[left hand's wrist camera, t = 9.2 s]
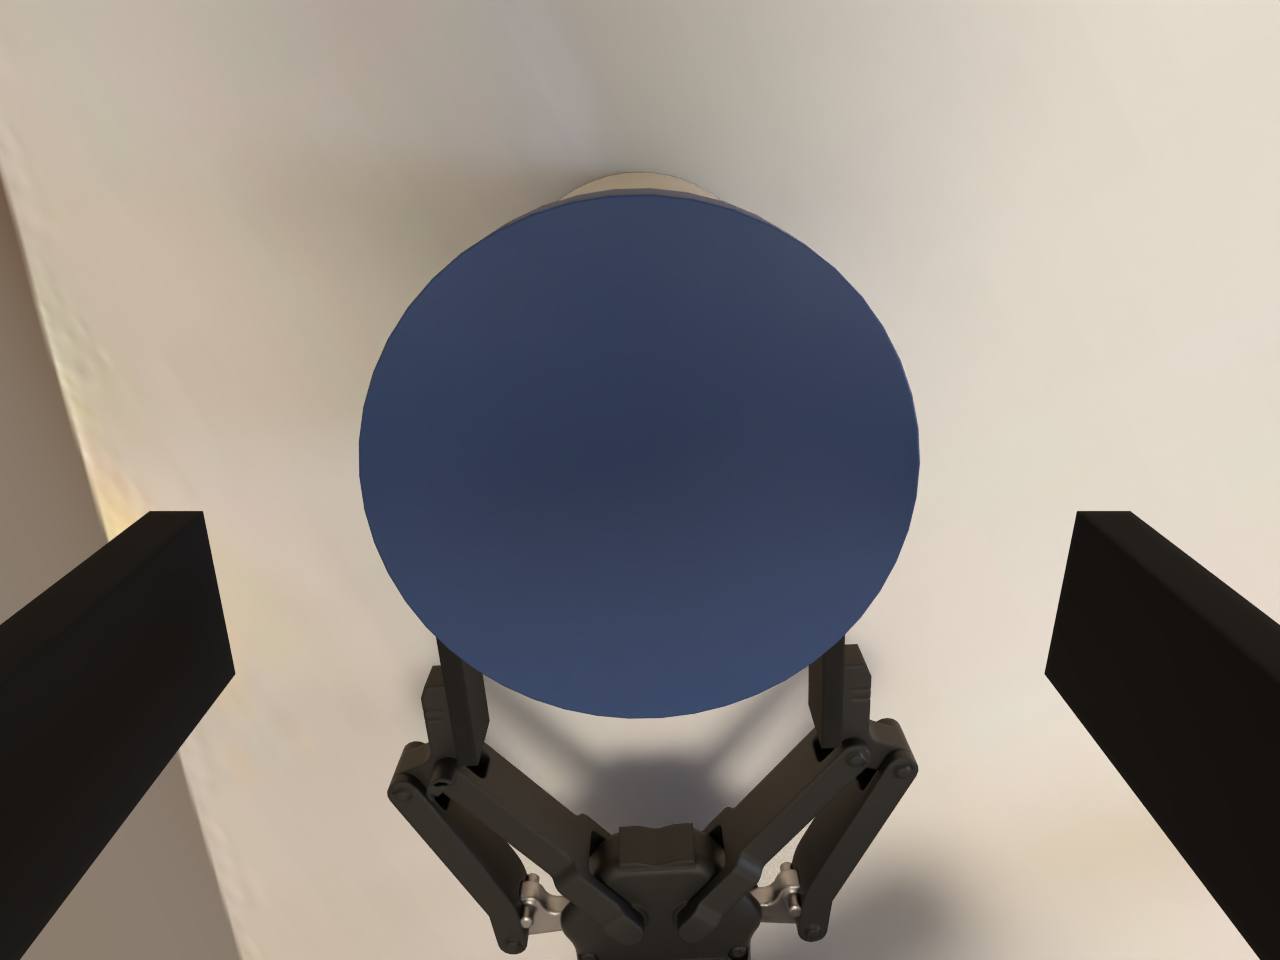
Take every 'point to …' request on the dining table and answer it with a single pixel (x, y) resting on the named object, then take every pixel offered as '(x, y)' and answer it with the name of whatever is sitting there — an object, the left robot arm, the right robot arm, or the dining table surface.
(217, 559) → the dining table surface
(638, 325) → the lid
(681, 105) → the dining table surface
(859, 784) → the right robot arm
